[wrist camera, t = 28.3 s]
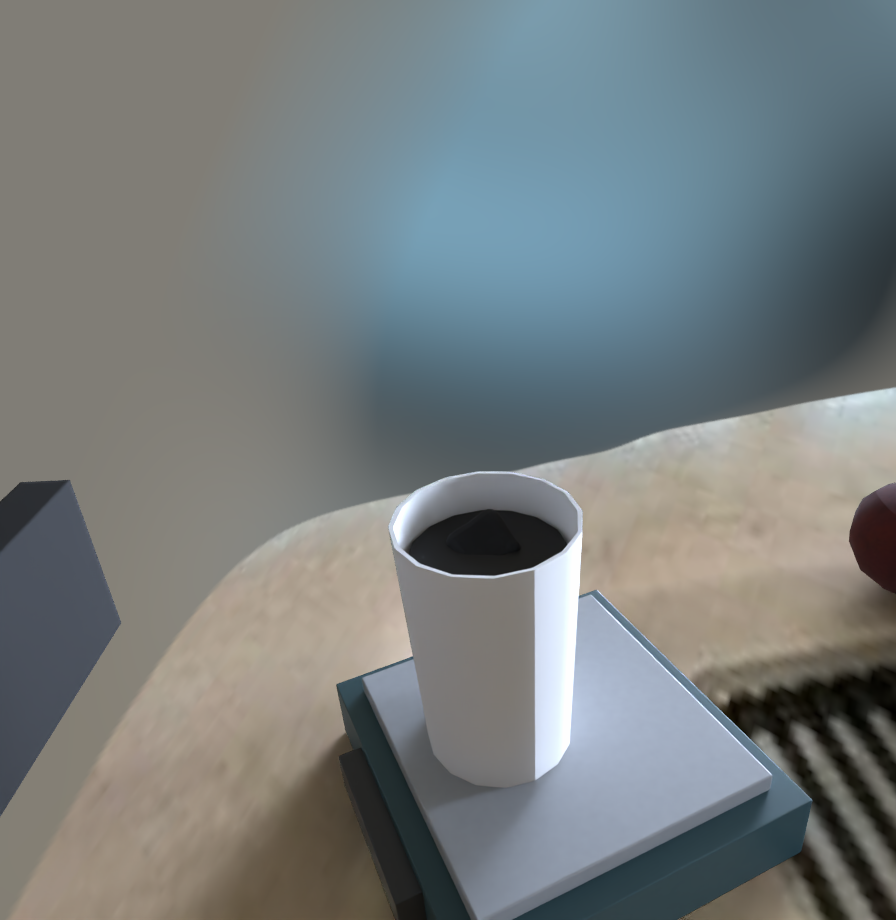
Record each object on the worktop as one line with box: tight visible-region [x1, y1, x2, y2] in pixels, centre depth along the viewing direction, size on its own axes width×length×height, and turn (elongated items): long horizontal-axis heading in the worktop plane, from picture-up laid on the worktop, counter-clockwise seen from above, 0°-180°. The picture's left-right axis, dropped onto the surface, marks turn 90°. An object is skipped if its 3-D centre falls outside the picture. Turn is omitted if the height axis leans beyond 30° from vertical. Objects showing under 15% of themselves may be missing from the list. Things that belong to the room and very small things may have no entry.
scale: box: [336, 590, 812, 920], centre depth 31 cm, size 15×14×4 cm
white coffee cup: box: [388, 471, 583, 788], centre depth 28 cm, size 7×7×10 cm
